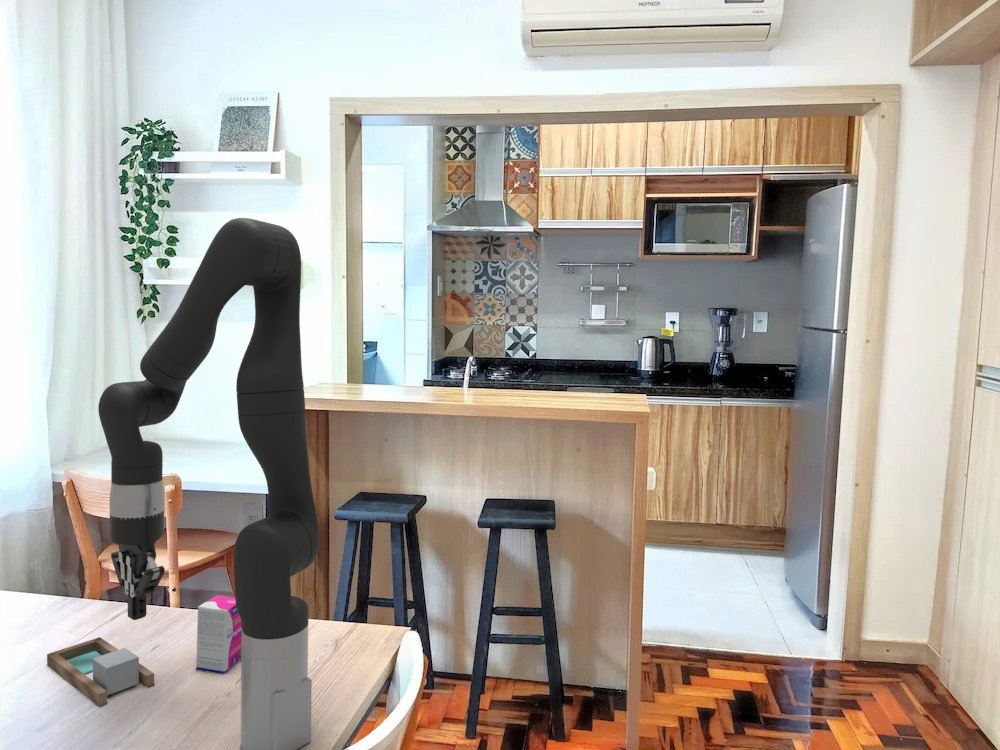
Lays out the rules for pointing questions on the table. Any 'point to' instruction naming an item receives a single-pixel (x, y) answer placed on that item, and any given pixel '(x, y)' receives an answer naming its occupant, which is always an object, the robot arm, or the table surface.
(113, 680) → the block
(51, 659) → the wooden u-shaped frame
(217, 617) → the supplement box
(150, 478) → the robot arm
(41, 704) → the table surface
